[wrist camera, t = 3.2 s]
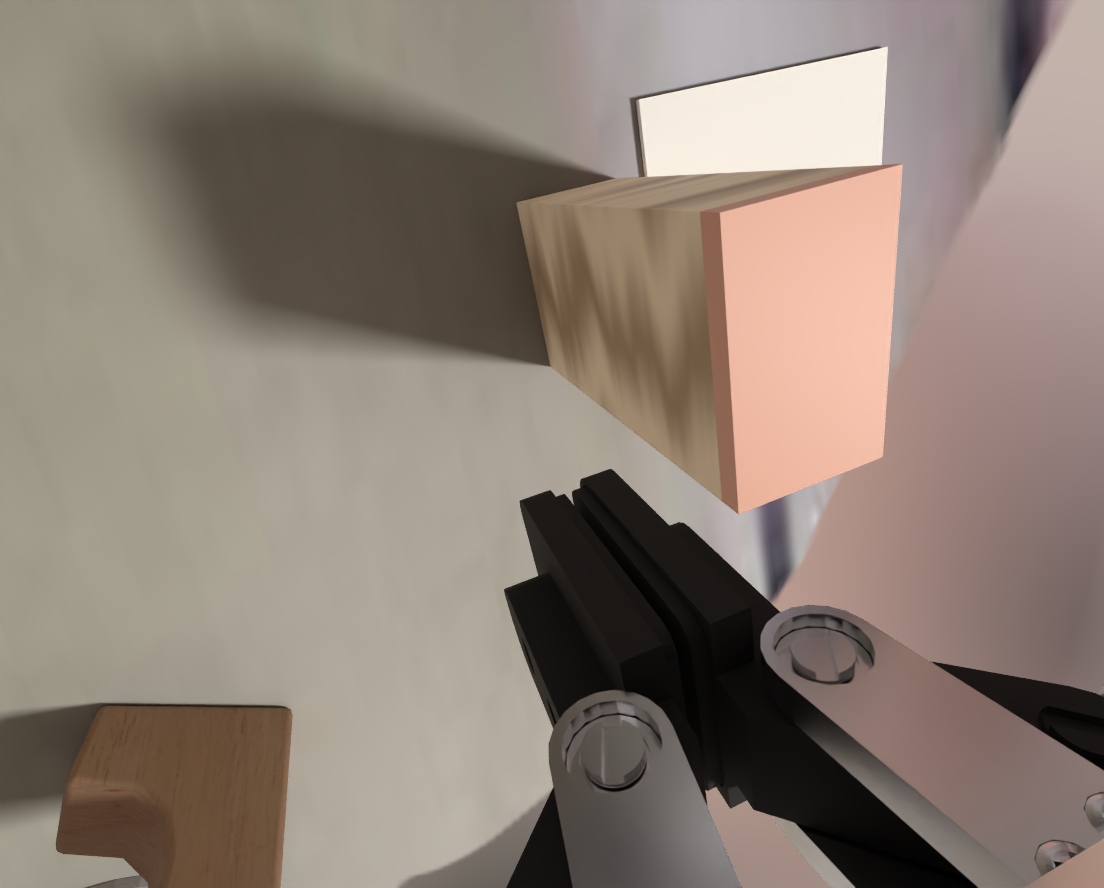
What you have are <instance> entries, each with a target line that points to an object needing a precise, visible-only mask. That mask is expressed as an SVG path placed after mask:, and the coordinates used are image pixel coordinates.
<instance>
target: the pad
mask: <svg viewBox="0 0 1104 888" xmlns="http://www.w3.org/2000/svg"><path fill="white" fill-rule="evenodd" d="M887 51H888V47H885V48H880V49H875V50H871V51H866V52H861V53H856V54H852V55H847V56H842V57H837V58H833V59H828V60H823V61H818V62H814V63H809V64H804V65H799V66H795V67H790V68H785V69H781V70H776V71H771V72H766V73H762V74H757V75H752V76H747V77H743V78H738V79H733V80H728V81H724V82H719V83H714V84H709V85H705V86H700V87H695V88H690V89H686V90H681V91H676V92H672V93H667V94H662V95H657V96H653V97H648V98H643V99H639V100H636V106H637V115H638V124H639V132H640V141H641V150H642V159H643V168H644V176H645V177H654V176H674V175H694V174H714V173H734V172H754V171H774V170H794V169H814V168H833V167H853V166H873V165H881V164H882V145H883V126H884V107H885V89H886V70H887Z"/></svg>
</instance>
